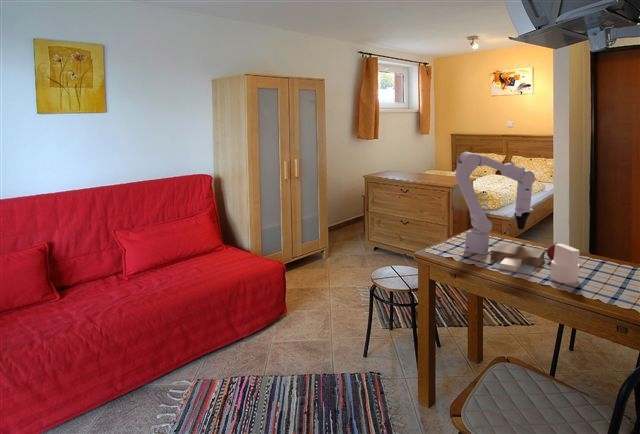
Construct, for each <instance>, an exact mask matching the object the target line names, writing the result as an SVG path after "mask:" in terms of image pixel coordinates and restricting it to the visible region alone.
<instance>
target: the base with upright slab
mask: <svg viewBox="0 0 640 434" xmlns="http://www.w3.org/2000/svg"><path fill="white" fill-rule="evenodd" d="M554 244H555V243H554ZM580 252H581V251H580V250H579V249H577V248H575V247H573V246H571V245H566V244H564V243H558V244H555V251H554V260H551V262H550V273H549V278H550V279H551V280H552V281H555V282H558V283H563V284H575V283H578V280H579V273H580V272H579V271H580V263H579V262H580V261H579V258H580Z"/></svg>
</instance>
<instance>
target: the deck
mask: <svg viewBox="0 0 640 434" xmlns="http://www.w3.org/2000/svg"><path fill="white" fill-rule="evenodd" d="M545 253H546V250H545V249H543V248H542V249H541V248H534V247H529V246H522V245H515V244H507V243H501V242H499V243H498V244H496V245H495V247H493V248H492V249H491V251H490V260H493V261H496V262H497V261H498V260H501V261H503V260H504V259H505V257H509V258H515V259H521V260H522V263H521V264H524V265H530V266H535V268H537V269H538V268H539V267H540V265H541V264H542V262H543V261H544V260H545Z"/></svg>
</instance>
